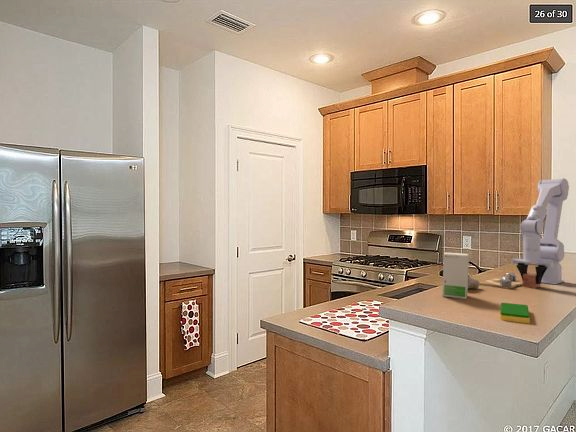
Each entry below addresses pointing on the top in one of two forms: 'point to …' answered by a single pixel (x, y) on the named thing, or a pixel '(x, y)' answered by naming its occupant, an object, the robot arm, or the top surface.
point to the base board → (496, 283)
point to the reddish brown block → (530, 280)
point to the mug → (473, 283)
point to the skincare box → (455, 275)
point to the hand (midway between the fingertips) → (531, 283)
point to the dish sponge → (514, 312)
